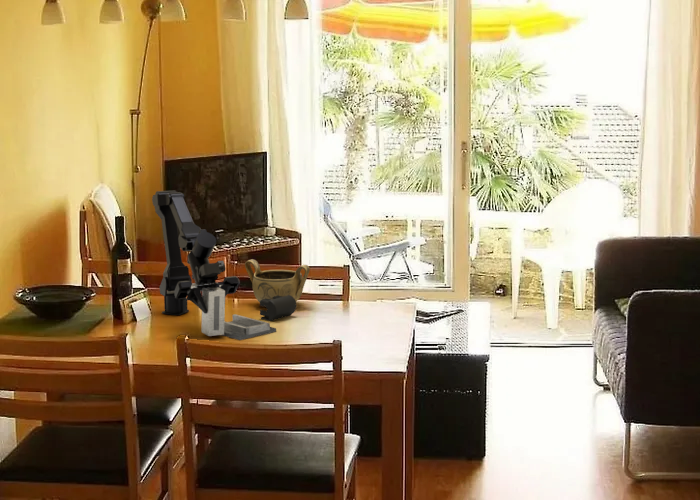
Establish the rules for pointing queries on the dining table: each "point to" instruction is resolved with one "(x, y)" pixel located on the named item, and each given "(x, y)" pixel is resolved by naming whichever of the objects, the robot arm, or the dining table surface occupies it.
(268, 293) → the ceramic bowl
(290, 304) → the end cap
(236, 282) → the robot arm
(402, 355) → the dining table surface
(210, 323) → the aluminium block
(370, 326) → the dining table surface
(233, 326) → the slotted cradle
